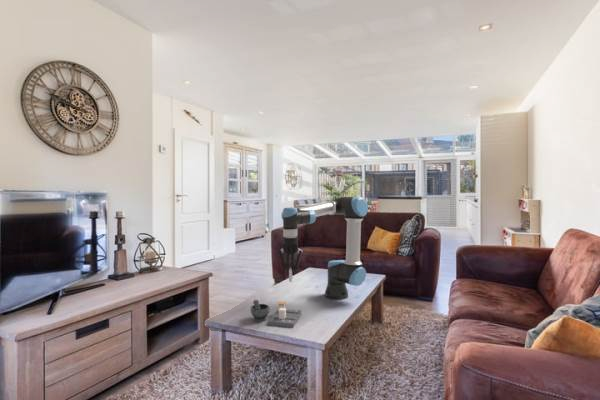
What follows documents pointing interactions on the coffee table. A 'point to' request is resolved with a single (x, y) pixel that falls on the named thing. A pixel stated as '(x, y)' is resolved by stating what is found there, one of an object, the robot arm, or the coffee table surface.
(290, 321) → the console
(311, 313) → the coffee table surface
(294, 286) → the coffee table surface
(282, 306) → the fader
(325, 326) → the coffee table surface
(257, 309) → the mortar and pestle
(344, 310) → the coffee table surface
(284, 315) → the fader
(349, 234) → the robot arm
